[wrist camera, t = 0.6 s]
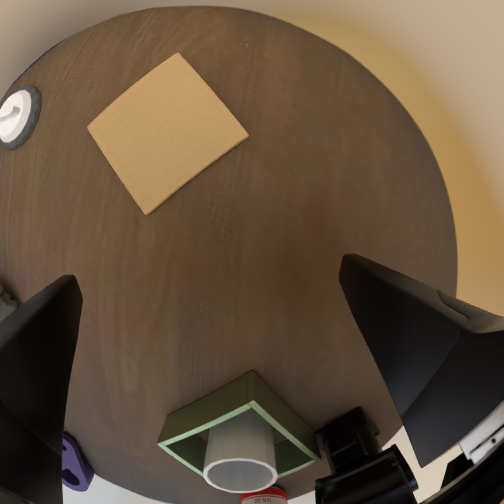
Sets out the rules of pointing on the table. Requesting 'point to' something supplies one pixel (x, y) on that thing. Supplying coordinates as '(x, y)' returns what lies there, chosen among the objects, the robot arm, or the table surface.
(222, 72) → the table surface
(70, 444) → the lever
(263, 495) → the beer can
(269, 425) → the cup
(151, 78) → the coaster
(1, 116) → the stove knob
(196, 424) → the green square frame
